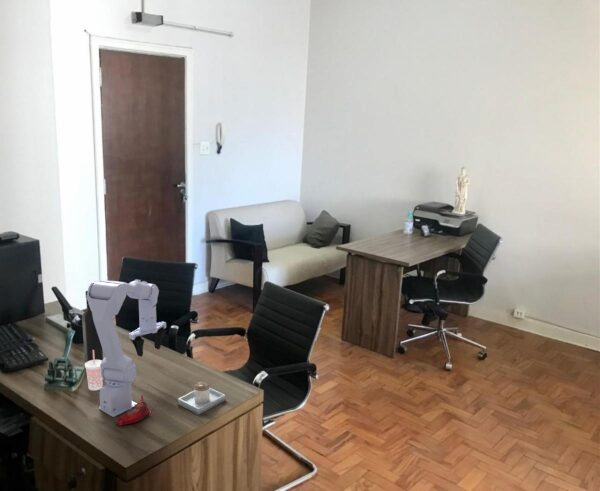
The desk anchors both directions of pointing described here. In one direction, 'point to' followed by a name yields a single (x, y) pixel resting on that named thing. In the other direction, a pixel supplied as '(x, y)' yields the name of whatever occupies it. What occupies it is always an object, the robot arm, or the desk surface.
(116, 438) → the desk surface
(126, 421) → the decorative bird figurine
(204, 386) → the espresso cup
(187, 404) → the tray
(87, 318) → the wine bottle
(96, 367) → the beverage cup
